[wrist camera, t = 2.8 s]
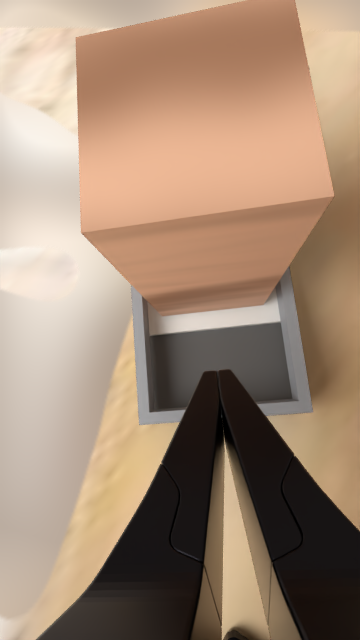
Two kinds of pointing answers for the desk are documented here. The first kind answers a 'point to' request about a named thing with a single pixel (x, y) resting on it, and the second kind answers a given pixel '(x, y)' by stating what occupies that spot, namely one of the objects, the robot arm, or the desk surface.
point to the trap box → (220, 355)
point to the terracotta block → (201, 153)
